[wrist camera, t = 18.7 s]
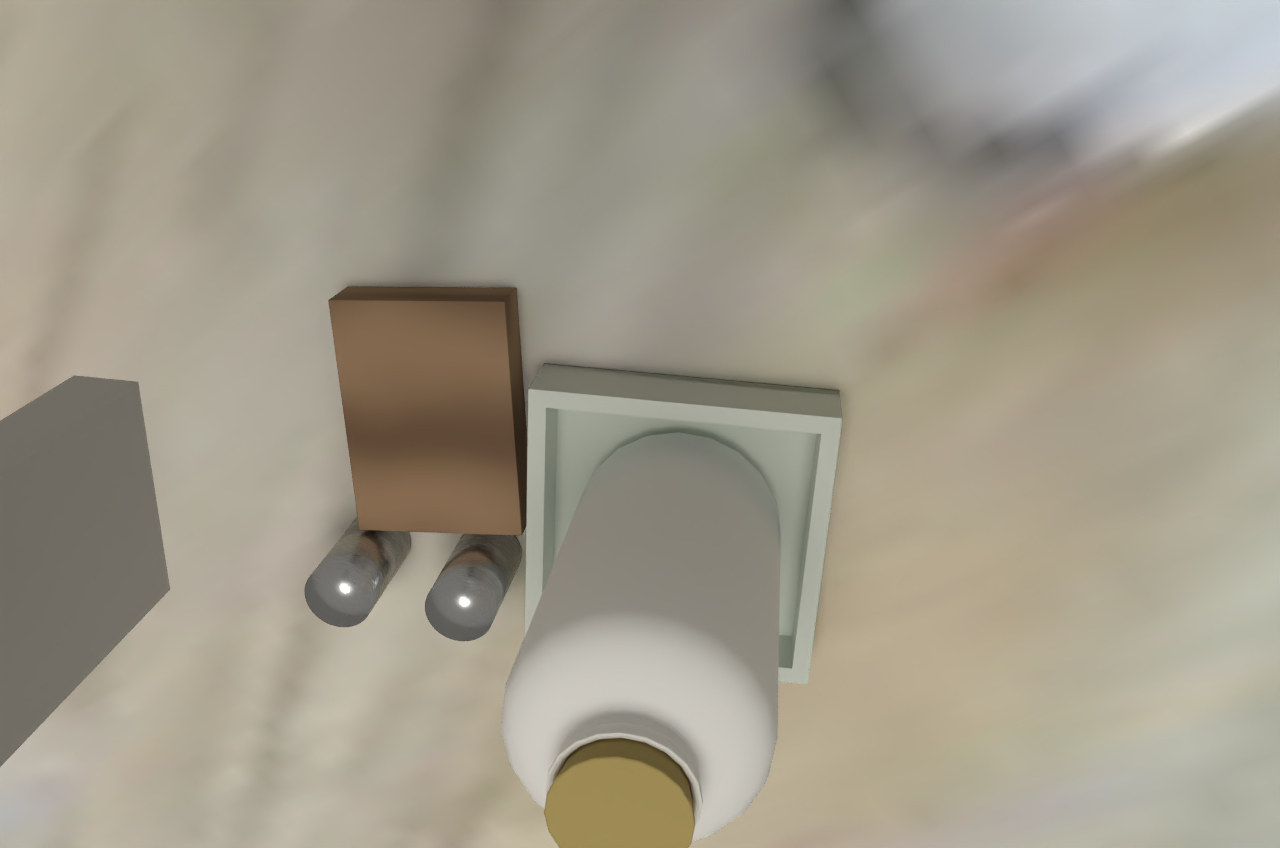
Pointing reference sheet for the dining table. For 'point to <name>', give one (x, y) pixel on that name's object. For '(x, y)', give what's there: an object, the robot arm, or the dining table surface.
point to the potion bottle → (653, 652)
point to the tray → (718, 409)
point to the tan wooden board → (433, 407)
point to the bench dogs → (453, 602)
